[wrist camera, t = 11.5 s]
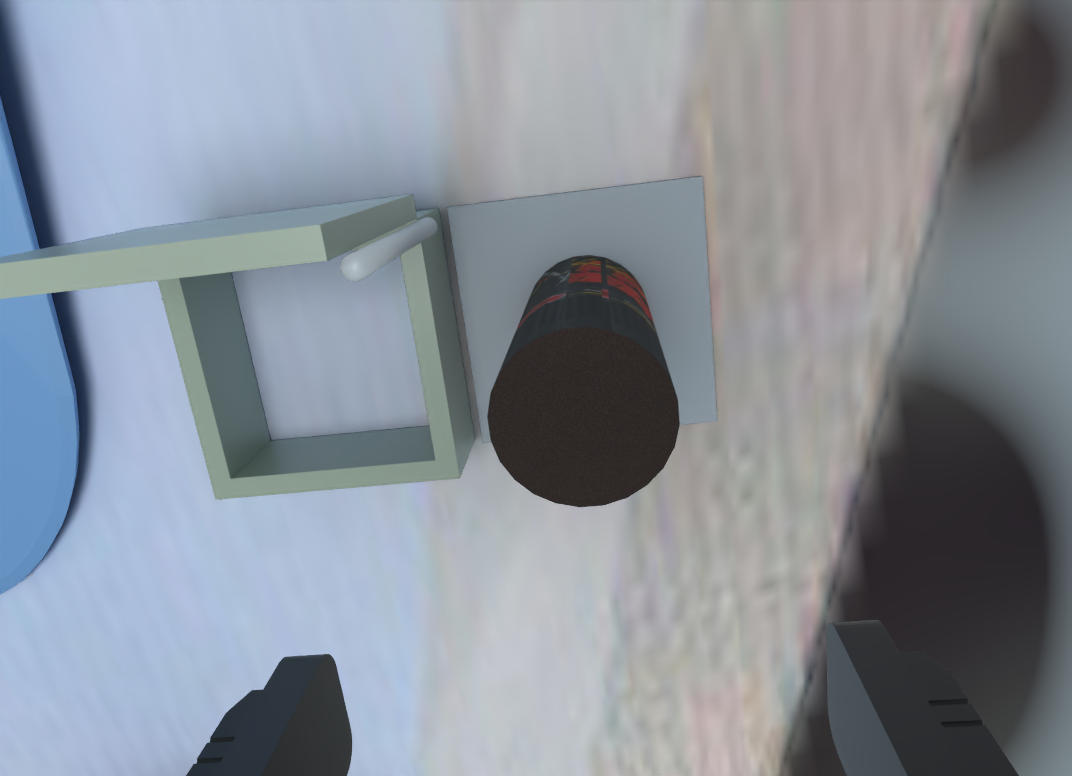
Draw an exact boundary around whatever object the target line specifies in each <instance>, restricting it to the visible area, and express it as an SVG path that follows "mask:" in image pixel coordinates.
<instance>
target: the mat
mask: <svg viewBox="0 0 1072 776" xmlns="http://www.w3.org/2000/svg"><path fill="white" fill-rule="evenodd" d="M447 212H448V219H449V225H450V232H451V238H452V245H453V252H454V258H455V265H456V271H457V278H458V284H459V291H460V297H461V304H462V310H463V317H464V324H465V330H466V337H467V343H468V350H469V356H470V363H471V369H472V376H473V382H474V389H475V395H476V402H477V409H478V415H479V422H480V428H481V435H482V441H483V443H486V442H491V440H490V433H489V426H488V419H487V414H488V407H489V400H490V393H491V391H492V388H493V386H494V383H495V381H496V378H497V376H498V373H499V371H500V368H501V366H502V364H503V361H504V359H505V356H506V354H507V351H508V349H509V346H510V344H511V341H512V339H513V336H514V334H515V332H516V329H517V327H518V324H519V322H520V319H521V317H522V314H523V312H524V309H525V307H526V305H527V302H528V300H529V297H530V295H531V293H532V290H533V288H534V286H535V284H536V283H537V281H538V280H539V279H540V278H541V276H542V275H543V274H544V273H545V272H546V271H547V270H548V269H550V268H551V267H553V266H554V265H555V264H557V263H558V262H561V261H563V260H566V259H568V258H571V257H574V256H584V255H593V256H600V257H606V258H608V259H610V260H612V261H615V262H617V263H619V264H621V265H622V266H623V267H625V268H626V269H627V270H628V271H629V272H631V273H632V274H633V275H634V277H635V278H636V280H637V281H638V282H639V284H640V285H641V287H642V289H643V291H644V294H645V297H646V300H647V303H648V306H649V309H650V312H651V315H652V318H653V322H654V325H655V328H656V331H657V334H658V338H659V341H660V344H661V347H662V350H663V353H664V357H665V360H666V363H667V366H668V369H669V372H670V376H671V379H672V382H673V385H674V388H675V392H676V395H677V398H678V406H679V420H680V425H683V424H694V423H705V422H716V421H717V409H716V392H715V376H714V359H713V342H712V325H711V309H710V292H709V275H708V259H707V242H706V225H705V208H704V192H703V177H702V176H697V177H689V178H681V179H673V180H665V181H656V182H648V183H640V184H632V185H624V186H616V187H607V188H599V189H591V190H583V191H575V192H566V193H558V194H550V195H542V196H534V197H526V198H517V199H509V200H501V201H493V202H485V203H476V204H468V205H460V206H452V207H448V208H447Z"/></svg>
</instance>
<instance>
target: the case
mask: <svg viewBox="0 0 1072 776" xmlns="http://www.w3.org/2000/svg"><path fill="white" fill-rule="evenodd" d="M358 249H359V250H358ZM349 250H357V251H355V252H353V253H351V254H349V255H347V256H345V257H344V258H343V260H342V261H341V265H340V268H341V272H342V274H343V275H344V277H345V278H347V279H348V280H350V281H360V280H362V279H363V278H365V277H366V276H368V275H370V274H371V273H373V272H374V271H376V270H378V269H379V268H381V267H382V266H384V265H386V264H387V263H389V262H390V261H392V260H394V259H395V258H397V257H399V256H400V258H401V264H402V270H403V275H404V281H405V287H406V293H407V298H408V304H409V310H410V316H411V322H412V327H413V333H414V339H415V345H416V351H417V356H418V362H419V368H420V374H421V380H422V385H423V391H424V397H425V403H426V409H427V414H428V420H429V426H421V427H410V428H399V429H389V430H378V431H367V432H357V433H346V434H336V435H325V436H314V437H304V438H293V439H283V440H272V441H271V440H270V435H269V431H268V427H267V423H266V418H265V414H264V410H263V406H262V401H261V397H260V393H259V389H258V385H257V380H256V376H255V372H254V368H253V363H252V359H251V355H250V351H249V346H248V342H247V338H246V334H245V330H244V325H243V321H242V317H241V313H240V308H239V304H238V300H237V296H236V291H235V287H234V283H233V279H232V275H231V272H235V271H244V270H252V269H261V268H269V267H278V266H287V265H295V264H304V263H312V262H321V261H328V260H330V259H332V258H334V257H336V256H338V255H340V254H343V253H345V252H347V251H349ZM150 281H158V284H159V287H160V291H161V295H162V299H163V303H164V306H165V310H166V314H167V318H168V321H169V325H170V329H171V333H172V337H173V340H174V344H175V348H176V352H177V356H178V359H179V363H180V367H181V371H182V374H183V378H184V382H185V386H186V390H187V393H188V397H189V401H190V405H191V409H192V412H193V416H194V420H195V424H196V427H197V431H198V435H199V439H200V443H201V446H202V450H203V454H204V458H205V461H206V465H207V469H208V473H209V477H210V480H211V484H212V488H213V492H214V496H215V499H228V498H239V497H251V496H262V495H274V494H285V493H297V492H308V491H320V490H331V489H343V488H354V487H366V486H377V485H389V484H400V483H412V482H423V481H435V480H446V479H458V478H460V477H461V474H462V471H463V469H464V466H465V464H466V461H467V459H468V456H469V453H470V451H471V448H472V446H473V443H474V440H475V437H474V431H473V424H472V418H471V411H470V405H469V398H468V392H467V386H466V379H465V373H464V366H463V360H462V354H461V347H460V341H459V334H458V328H457V321H456V315H455V309H454V302H453V296H452V289H451V283H450V276H449V270H448V264H447V257H446V251H445V244H444V238H443V232H442V225H441V219H440V212H439V208H436V209H427V210H419V211H416V208H415V202H414V196H413V194H411V195H403V196H395V197H387V198H379V199H371V200H362V201H354V202H346V203H338V204H330V205H322V206H314V207H306V208H298V209H290V210H282V211H274V212H266V213H258V214H250V215H242V216H234V217H226V218H218V219H210V220H202V221H194V222H186V223H178V224H170V225H162V226H154V227H146V228H140V229H135V230H130V231H125V232H120V233H116V234H111V235H106V236H101V237H96V238H91V239H86V240H81V241H77V242H72V243H67V244H62V245H57V246H52V247H47V248H42V249H38V250H33V251H28V252H23V253H18V254H13V255H8V256H3V257H0V299H5V298H13V297H22V296H30V295H39V294H47V293H56V292H64V291H73V290H82V289H90V288H99V287H107V286H116V285H124V284H133V283H141V282H150Z"/></svg>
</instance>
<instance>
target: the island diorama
mask: <svg viewBox="0 0 1072 776" xmlns="http://www.w3.org/2000/svg"><path fill="white" fill-rule="evenodd" d="M38 249H40V248H39V245H38V241H37V237H36V233H35V229H34V225H33V221H32V217H31V213H30V210H29V206H28V202H27V198H26V194H25V190H24V186H23V182H22V179H21V175H20V171H19V167H18V163H17V159H16V155H15V151H14V148H13V144H12V140H11V136H10V132H9V128H8V124H7V120H6V117H5V113H4V109H3V105H2V101H1V97H0V257H3V256H8V255H13V254H18V253H23V252H28V251H33V250H38ZM78 452H79V419H78V408H77V398H76V389H75V385H74V381H73V377H72V372H71V369H70V365H69V361H68V357H67V353H66V349H65V345H64V341H63V338H62V334H61V330H60V326H59V322H58V318H57V314H56V310H55V307H54V303H53V299H52V295H51V293H47V294H39V295H30V296H22V297H13V298H5V299H0V594H1V593H3V592H5V591H6V590H8V589H10V588H12V587H13V586H15V585H16V584H17V583H19V582H20V581H22V580H23V579H24V578H25V577H26V576H27V575H28V574H29V573H30V572H31V571H32V570H33V569H34V567H35V566H36V565H37V564H38V563H39V562H40V561H41V560H42V559H43V557H44V556H45V554H46V553H47V551H48V549H49V548H50V546H51V544H52V543H53V541H54V539H55V537H56V535H57V533H58V532H59V530H60V528H61V526H62V524H63V521H64V519H65V516H66V514H67V510H68V507H69V504H70V500H71V496H72V492H73V488H74V484H75V480H76V474H77V467H78Z"/></svg>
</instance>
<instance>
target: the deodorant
mask: <svg viewBox="0 0 1072 776" xmlns="http://www.w3.org/2000/svg"><path fill="white" fill-rule="evenodd" d="M487 419H488V426H489V433H490V440H491V442H492V444H493V447H494V449H495V451H496V454H497V456H498V458H499V460H500V462H501V463H502V465H503V466H504V467H505V468H506V470H507V471H508V472H509V473H510V475H511V476H512V477H513V478H514V480H516V481H517V482H518V483H520V484H521V485H522V486H524V487H525V488H526V489H528V490H529V491H530V492H532V493H533V494H535V495H538V496H540V497H542V498H545V499H547V500H549V501H552V502H554V503H558V504H564V505H570V506H576V507H587V506H601V505H606V504H609V503H612V502H615V501H618V500H621V499H625V498H627V497H629V496H630V495H632V494H634V493H635V492H637V491H638V490H640V489H642V488H643V487H645V486H646V485H648V484H649V483H650V481H651V480H652V479H653V478H654V477H655V476H656V475H657V474H658V473H659V472H660V471H661V470H662V469H663V468H664V466H665V464H666V462H667V460H668V458H669V457H670V455H671V453H672V451H673V449H674V447H675V443H676V439H677V434H678V429H679V425H680V420H679V406H678V398H677V395H676V392H675V388H674V385H673V382H672V379H671V376H670V372H669V369H668V366H667V363H666V360H665V357H664V353H663V350H662V347H661V344H660V341H659V338H658V334H657V331H656V328H655V325H654V322H653V318H652V315H651V312H650V309H649V306H648V303H647V300H646V297H645V294H644V291H643V289H642V287H641V285H640V284H639V282H638V281H637V280H636V278H635V277H634V275H633V274H632V273H631V272H629V271H628V270H627V269H626V268H625V267H623V266H622V265H621V264H619V263H617V262H615V261H612V260H610V259H608V258H606V257H600V256H593V255H584V256H574V257H571V258H568V259H566V260H563V261H561V262H558V263H557V264H555V265H554V266H553V267H551V268H550V269H548V270H547V271H546V272H545V273H544V274H543V275H542V276H541V278H540V279H539V280H538V281H537V283H536V284H535V286H534V288H533V290H532V293H531V295H530V297H529V300H528V302H527V305H526V307H525V309H524V312H523V314H522V317H521V319H520V322H519V324H518V327H517V329H516V332H515V334H514V336H513V339H512V341H511V344H510V346H509V349H508V351H507V354H506V356H505V359H504V361H503V364H502V366H501V368H500V371H499V373H498V376H497V378H496V381H495V383H494V386H493V388H492V391H491V393H490V400H489V407H488V414H487Z"/></svg>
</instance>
